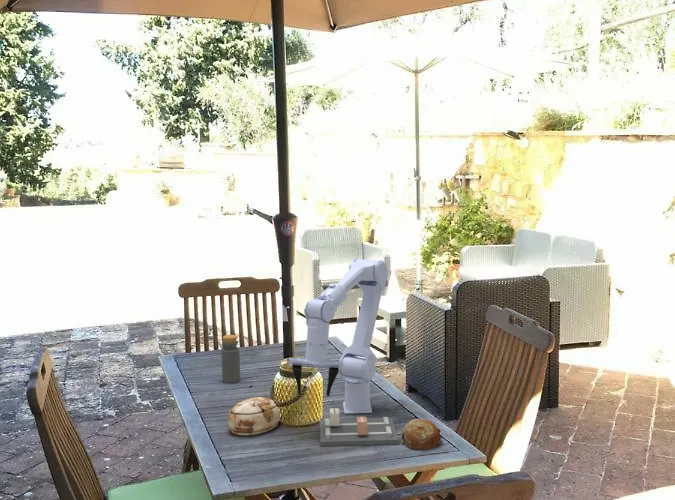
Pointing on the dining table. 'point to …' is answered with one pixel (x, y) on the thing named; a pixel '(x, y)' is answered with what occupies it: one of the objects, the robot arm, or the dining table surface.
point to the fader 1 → (334, 417)
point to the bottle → (230, 359)
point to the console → (346, 433)
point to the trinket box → (253, 416)
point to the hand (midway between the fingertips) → (313, 394)
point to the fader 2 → (362, 425)
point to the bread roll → (420, 434)
